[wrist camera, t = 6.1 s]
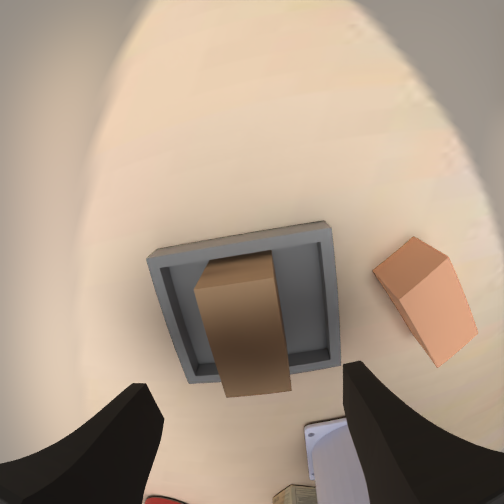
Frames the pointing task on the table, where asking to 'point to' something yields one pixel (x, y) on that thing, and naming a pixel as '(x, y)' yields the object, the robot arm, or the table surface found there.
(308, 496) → the box
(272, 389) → the walnut brick
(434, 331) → the terracotta brick
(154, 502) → the beer can
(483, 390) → the table surface
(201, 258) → the tray
